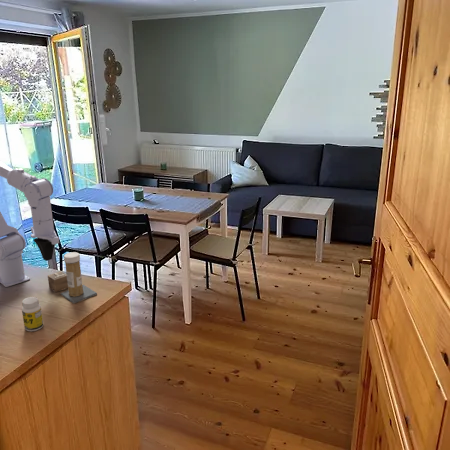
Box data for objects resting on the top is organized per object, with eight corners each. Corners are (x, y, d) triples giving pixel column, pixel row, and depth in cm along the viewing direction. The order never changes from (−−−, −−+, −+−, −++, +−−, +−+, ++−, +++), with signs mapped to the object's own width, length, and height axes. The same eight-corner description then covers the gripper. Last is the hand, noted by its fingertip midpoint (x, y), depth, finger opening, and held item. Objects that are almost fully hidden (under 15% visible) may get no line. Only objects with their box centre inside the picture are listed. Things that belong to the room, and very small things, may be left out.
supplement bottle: (20, 329, 115) (16, 302, 112) (33, 321, 119) (29, 294, 117) (34, 333, 114) (30, 305, 111) (47, 324, 118) (43, 297, 115)
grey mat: (60, 294, 134) (60, 293, 134) (83, 286, 140) (83, 284, 139) (73, 303, 129) (73, 301, 129) (96, 294, 134) (96, 292, 134)
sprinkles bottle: (85, 294, 133) (81, 255, 129) (71, 298, 131) (66, 258, 126) (80, 288, 137) (76, 250, 132) (66, 292, 134) (61, 253, 130)
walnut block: (49, 287, 138) (47, 274, 137) (62, 283, 142) (60, 270, 140) (55, 292, 136) (54, 279, 134) (69, 287, 139) (67, 274, 137)
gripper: (19, 216, 132) (25, 256, 136) (40, 227, 122) (46, 269, 127) (41, 211, 137) (46, 250, 141) (63, 221, 127) (68, 263, 132)
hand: (47, 259), depth 134 cm, fingers closed
